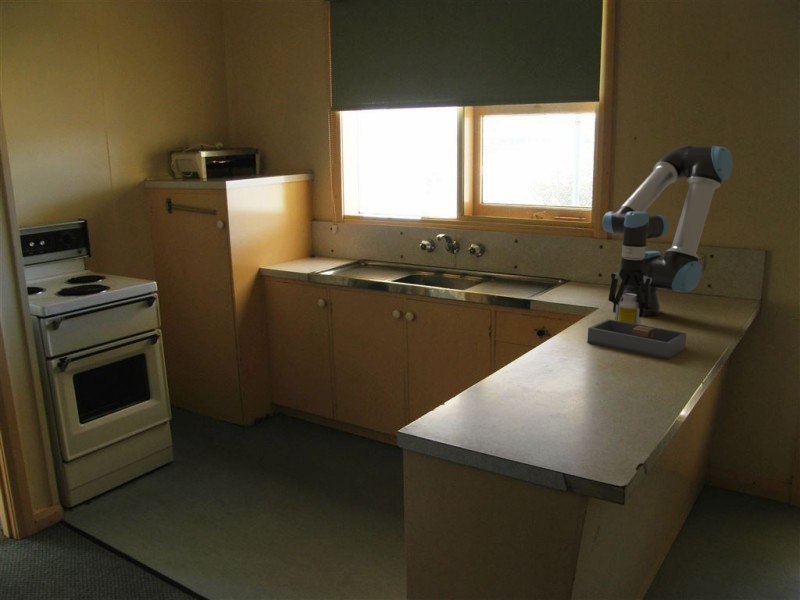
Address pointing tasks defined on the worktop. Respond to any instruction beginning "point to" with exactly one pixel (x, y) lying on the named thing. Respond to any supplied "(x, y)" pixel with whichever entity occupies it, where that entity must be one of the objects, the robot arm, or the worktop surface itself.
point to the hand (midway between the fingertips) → (627, 324)
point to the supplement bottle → (628, 308)
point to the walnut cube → (643, 332)
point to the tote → (636, 339)
